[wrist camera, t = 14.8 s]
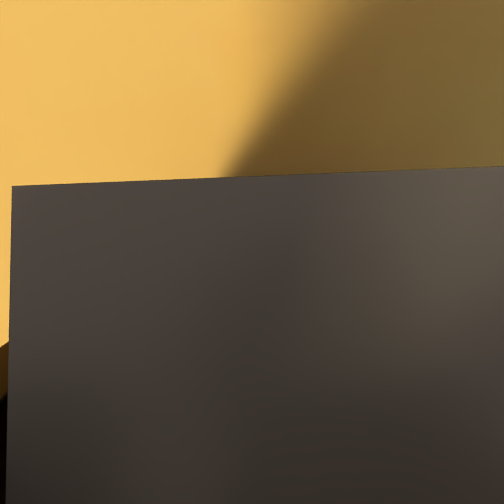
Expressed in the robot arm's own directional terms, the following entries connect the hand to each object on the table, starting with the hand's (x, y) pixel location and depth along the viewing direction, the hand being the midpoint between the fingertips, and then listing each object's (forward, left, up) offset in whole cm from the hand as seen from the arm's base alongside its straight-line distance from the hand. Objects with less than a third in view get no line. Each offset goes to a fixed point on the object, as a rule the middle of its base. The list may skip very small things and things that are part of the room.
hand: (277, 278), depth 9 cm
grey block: (0, +4, -2) cm, 4 cm away
